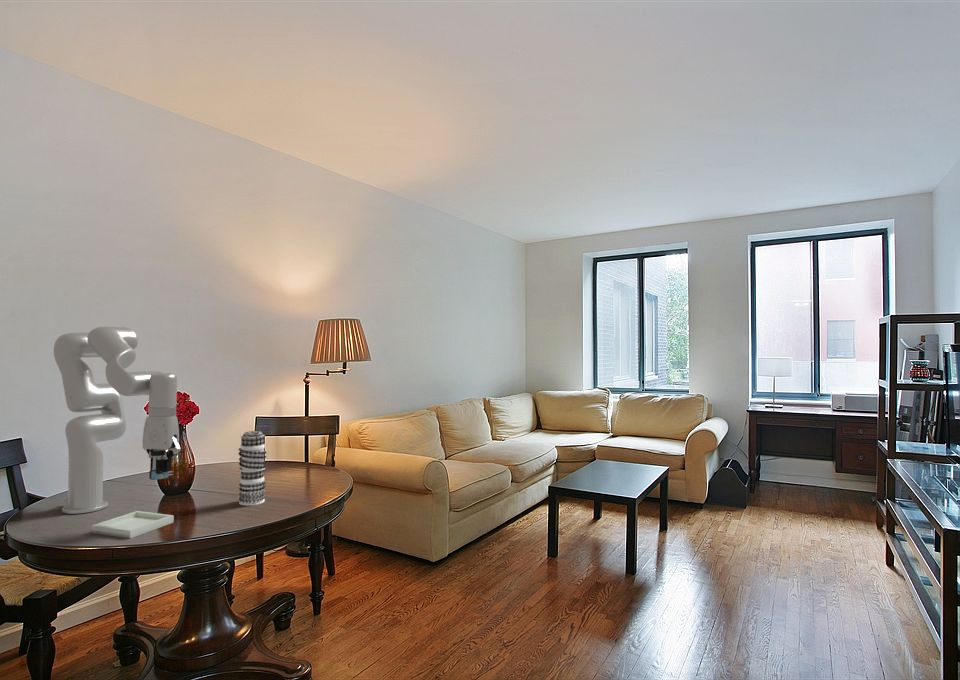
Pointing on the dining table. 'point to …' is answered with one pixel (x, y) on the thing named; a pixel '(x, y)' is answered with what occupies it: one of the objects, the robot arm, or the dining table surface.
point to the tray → (132, 524)
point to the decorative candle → (252, 468)
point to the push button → (158, 465)
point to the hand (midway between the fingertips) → (160, 470)
